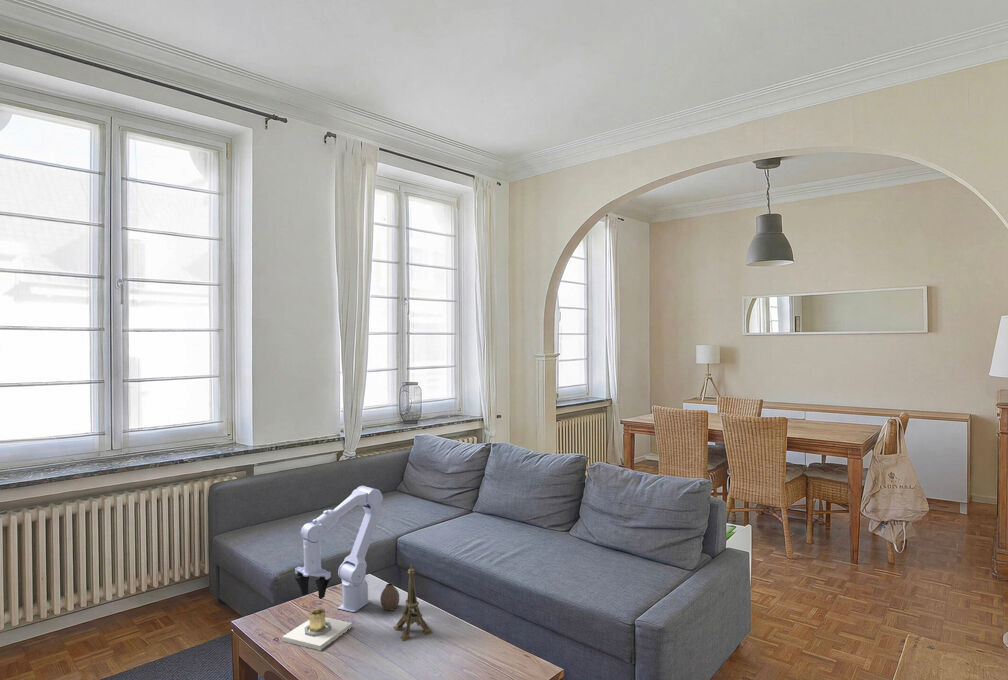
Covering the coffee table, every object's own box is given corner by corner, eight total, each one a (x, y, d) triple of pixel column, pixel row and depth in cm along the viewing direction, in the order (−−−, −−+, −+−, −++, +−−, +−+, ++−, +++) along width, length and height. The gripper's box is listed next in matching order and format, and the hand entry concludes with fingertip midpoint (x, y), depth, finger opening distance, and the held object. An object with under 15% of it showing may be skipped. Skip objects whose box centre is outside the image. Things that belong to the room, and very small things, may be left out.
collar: (317, 625, 204) (316, 607, 204) (328, 627, 202) (328, 610, 202) (306, 631, 199) (306, 614, 199) (318, 634, 197) (317, 616, 197)
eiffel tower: (393, 627, 204) (391, 555, 204) (422, 620, 209) (420, 549, 209) (402, 641, 195) (400, 566, 194) (432, 633, 200) (430, 559, 199)
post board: (316, 619, 211) (315, 602, 211) (352, 627, 205) (351, 610, 205) (282, 641, 197) (281, 623, 197) (320, 650, 190) (319, 631, 190)
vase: (383, 614, 214) (383, 590, 214) (378, 606, 220) (377, 583, 220) (402, 609, 217) (401, 585, 217) (396, 602, 223) (395, 579, 223)
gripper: (288, 559, 208) (289, 597, 208) (320, 564, 202) (321, 604, 202) (302, 552, 215) (303, 589, 215) (334, 557, 209) (335, 595, 209)
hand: (313, 596), depth 209 cm, fingers open, 7 cm apart
